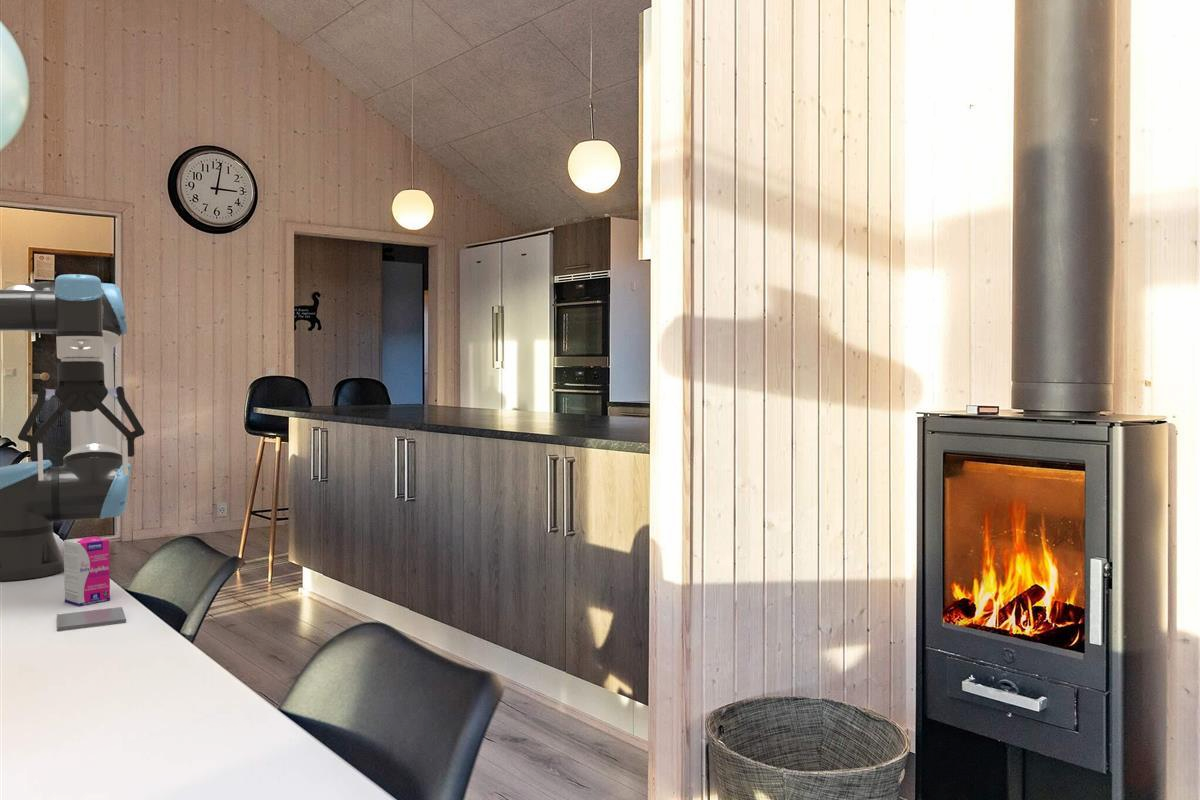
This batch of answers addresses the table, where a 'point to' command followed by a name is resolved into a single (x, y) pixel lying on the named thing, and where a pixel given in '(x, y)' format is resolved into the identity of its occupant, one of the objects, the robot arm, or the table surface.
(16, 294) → the robot arm
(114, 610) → the slate coaster
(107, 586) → the supplement box
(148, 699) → the table surface
